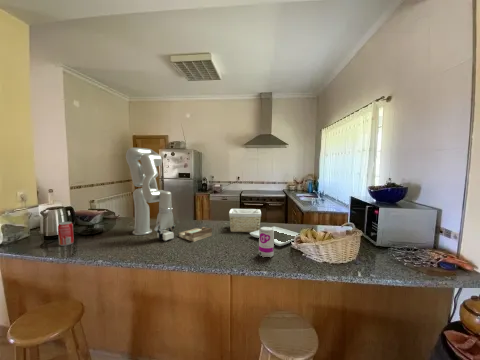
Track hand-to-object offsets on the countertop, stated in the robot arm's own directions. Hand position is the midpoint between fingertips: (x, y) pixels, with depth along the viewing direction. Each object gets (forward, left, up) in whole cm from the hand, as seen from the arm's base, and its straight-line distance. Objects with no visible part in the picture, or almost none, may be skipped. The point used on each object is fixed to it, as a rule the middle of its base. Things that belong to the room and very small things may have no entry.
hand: (165, 237), depth 145 cm
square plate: (+54, +50, -2) cm, 74 cm away
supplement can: (+63, +21, -1) cm, 67 cm away
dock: (+9, +17, -1) cm, 19 cm away
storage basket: (+26, +52, -1) cm, 58 cm away
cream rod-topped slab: (0, 0, -1) cm, 1 cm away
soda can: (-37, -43, -1) cm, 57 cm away
